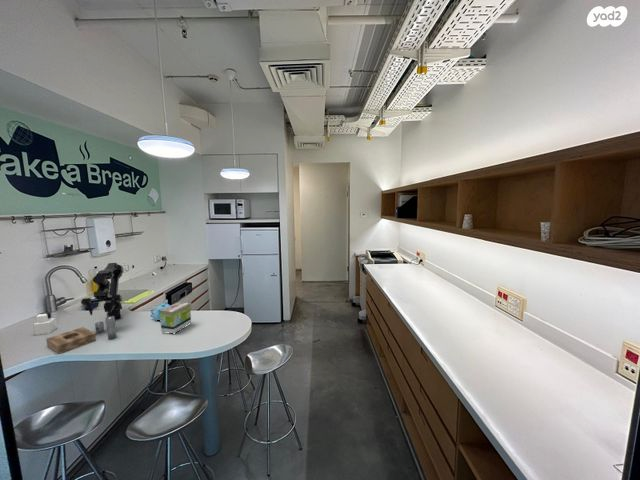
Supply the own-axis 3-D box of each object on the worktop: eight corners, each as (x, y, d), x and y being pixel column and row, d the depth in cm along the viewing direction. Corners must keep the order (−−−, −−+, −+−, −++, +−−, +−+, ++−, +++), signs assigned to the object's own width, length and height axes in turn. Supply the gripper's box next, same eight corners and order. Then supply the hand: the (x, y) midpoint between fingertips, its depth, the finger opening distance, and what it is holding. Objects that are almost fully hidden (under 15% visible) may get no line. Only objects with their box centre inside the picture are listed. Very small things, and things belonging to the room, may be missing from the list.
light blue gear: (147, 319, 179) (146, 305, 178) (169, 311, 192) (168, 298, 190) (159, 324, 172) (157, 309, 170) (181, 316, 184) (180, 302, 183)
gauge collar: (83, 333, 158) (82, 327, 158) (95, 340, 151) (95, 333, 150) (47, 346, 145) (46, 338, 144) (58, 354, 137) (57, 346, 136)
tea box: (175, 335, 158) (173, 311, 156) (160, 333, 160) (159, 310, 158) (191, 324, 172) (190, 302, 170) (178, 322, 174) (177, 301, 172)
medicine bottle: (42, 330, 163) (39, 312, 162) (56, 328, 166) (54, 310, 164) (34, 335, 157) (31, 316, 155) (50, 333, 159) (47, 314, 157)
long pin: (114, 335, 156) (112, 315, 155) (117, 337, 155) (115, 316, 153) (106, 338, 153) (104, 317, 151) (109, 340, 151) (107, 319, 149)
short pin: (102, 330, 164) (101, 321, 163) (105, 331, 162) (104, 322, 161) (94, 332, 160) (93, 323, 159) (97, 334, 158) (96, 325, 157)
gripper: (79, 286, 152) (75, 312, 145) (118, 282, 160) (116, 307, 154) (86, 293, 161) (82, 317, 154) (123, 289, 169) (121, 312, 162)
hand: (100, 313), depth 156 cm, fingers open, 9 cm apart
